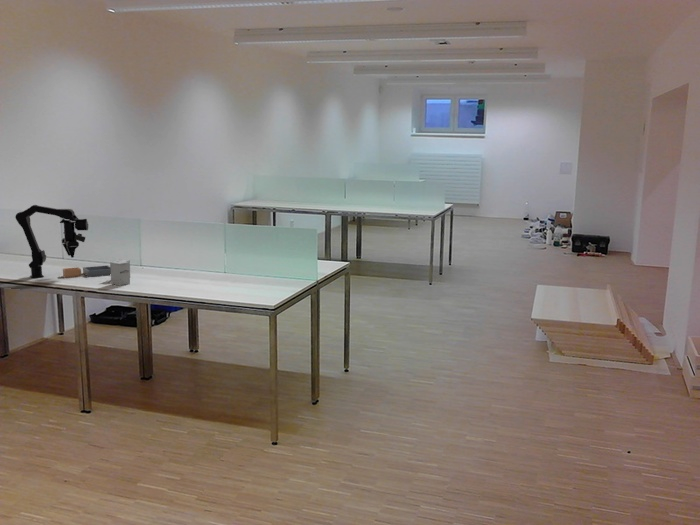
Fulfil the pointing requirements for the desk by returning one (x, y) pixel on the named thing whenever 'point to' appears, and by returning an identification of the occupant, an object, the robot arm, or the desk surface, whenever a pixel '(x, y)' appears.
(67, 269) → the small crate
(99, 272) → the big crate
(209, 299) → the desk surface
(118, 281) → the supplement box
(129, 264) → the light bulb box
